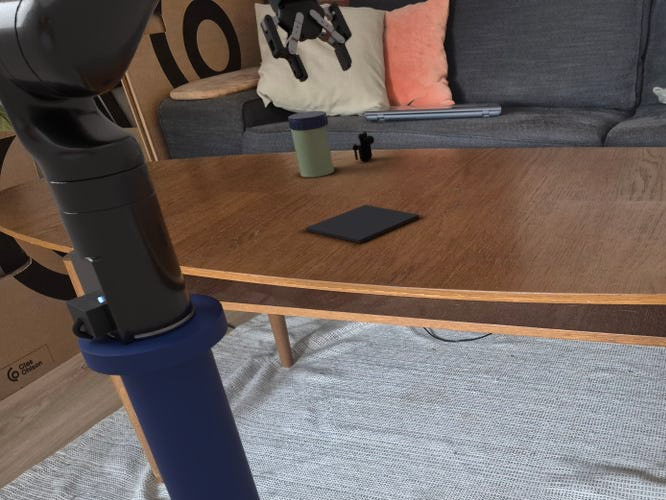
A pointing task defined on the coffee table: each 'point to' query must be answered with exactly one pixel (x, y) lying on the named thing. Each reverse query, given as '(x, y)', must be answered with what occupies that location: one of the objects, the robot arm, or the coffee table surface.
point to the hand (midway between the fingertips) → (326, 74)
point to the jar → (313, 152)
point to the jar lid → (308, 120)
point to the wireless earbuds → (364, 147)
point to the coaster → (362, 223)
